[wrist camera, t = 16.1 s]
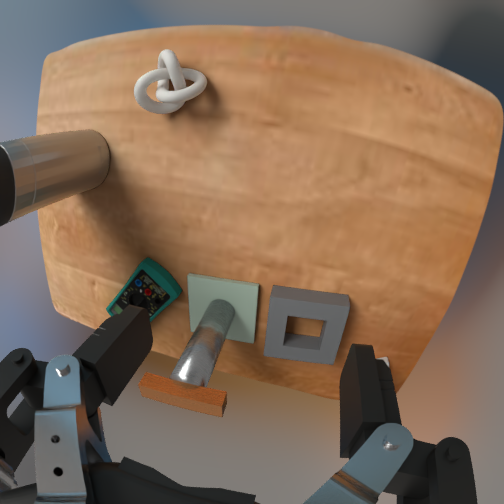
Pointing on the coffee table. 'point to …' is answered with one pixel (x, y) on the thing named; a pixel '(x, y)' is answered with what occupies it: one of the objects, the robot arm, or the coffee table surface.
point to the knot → (166, 71)
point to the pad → (231, 291)
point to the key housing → (305, 306)
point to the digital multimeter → (147, 290)
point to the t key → (195, 366)
